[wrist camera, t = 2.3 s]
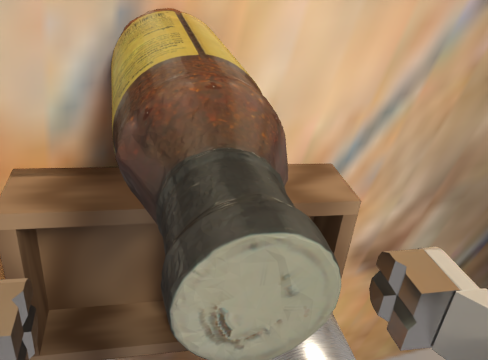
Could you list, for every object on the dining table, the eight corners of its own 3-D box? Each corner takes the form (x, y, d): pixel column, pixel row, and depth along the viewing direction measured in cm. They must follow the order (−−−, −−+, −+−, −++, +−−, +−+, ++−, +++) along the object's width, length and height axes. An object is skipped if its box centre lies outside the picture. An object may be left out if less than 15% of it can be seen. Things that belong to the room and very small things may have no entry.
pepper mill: (296, 207, 33) (412, 415, 19) (285, 271, 36) (378, 491, 22) (214, 210, 31) (275, 437, 18) (209, 277, 34) (259, 514, 21)
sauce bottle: (108, 103, 27) (69, 412, 10) (118, -8, 24) (85, 171, 7) (215, 117, 29) (329, 398, 12) (235, 16, 26) (421, 201, 9)
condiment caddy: (331, 163, 33) (361, 200, 28) (305, 289, 38) (326, 335, 34) (13, 168, 28) (-9, 214, 24) (38, 311, 34) (24, 368, 29)
